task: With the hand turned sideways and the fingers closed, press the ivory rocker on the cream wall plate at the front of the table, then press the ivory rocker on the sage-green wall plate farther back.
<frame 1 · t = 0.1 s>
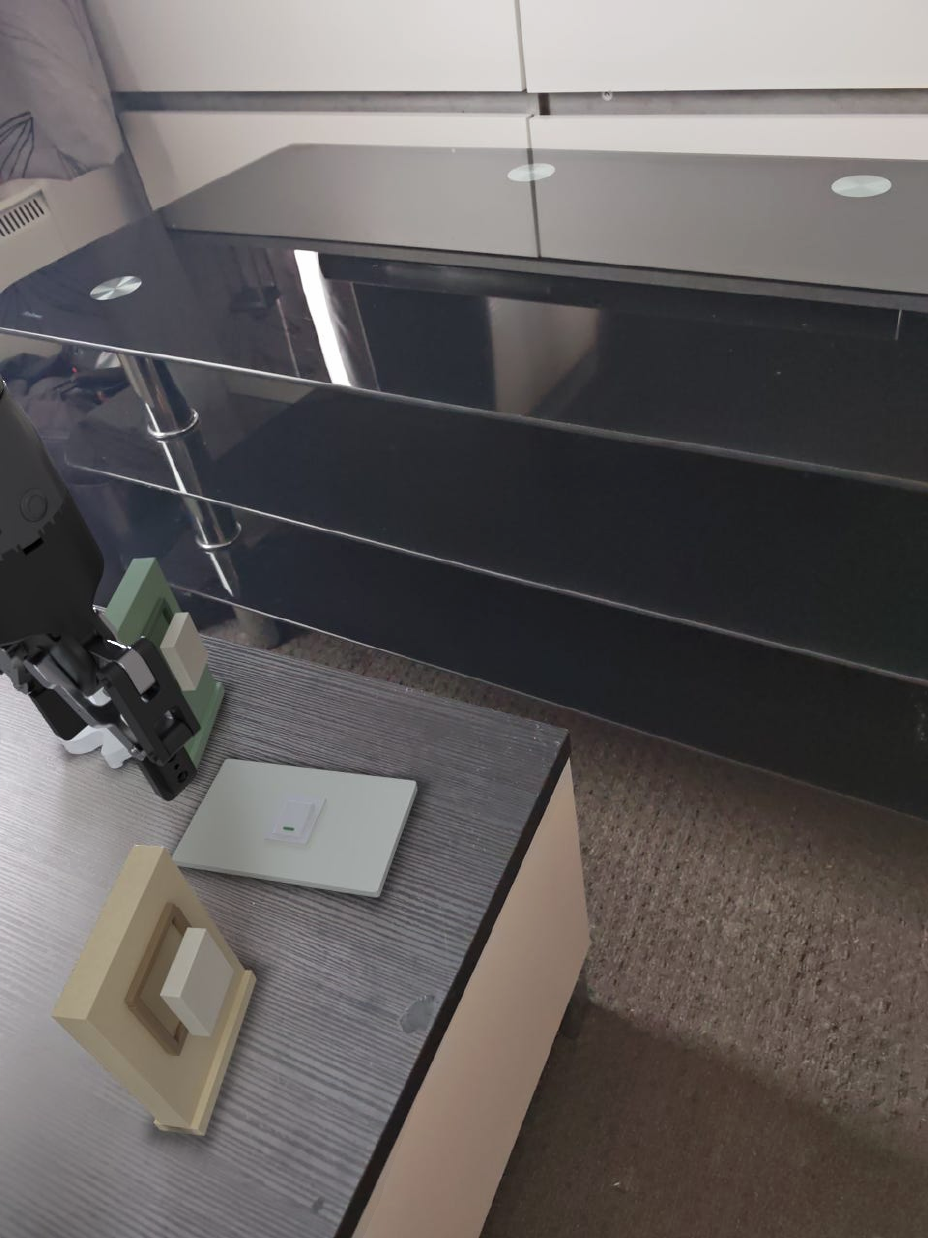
hand: (126, 756, 49), 23 cm above the table, tool pointing down, fingers open, 8 cm apart
near switch: (198, 982, 52), point 10 cm above the table, slide at -0.1 cm
near plate: (225, 1052, 59), on the table
far plate: (205, 733, 81), on the table
joystick: (109, 732, 83), on the table
far switch: (185, 651, 74), point 10 cm above the table, slide at -0.1 cm
light switch: (298, 826, 72), on the table
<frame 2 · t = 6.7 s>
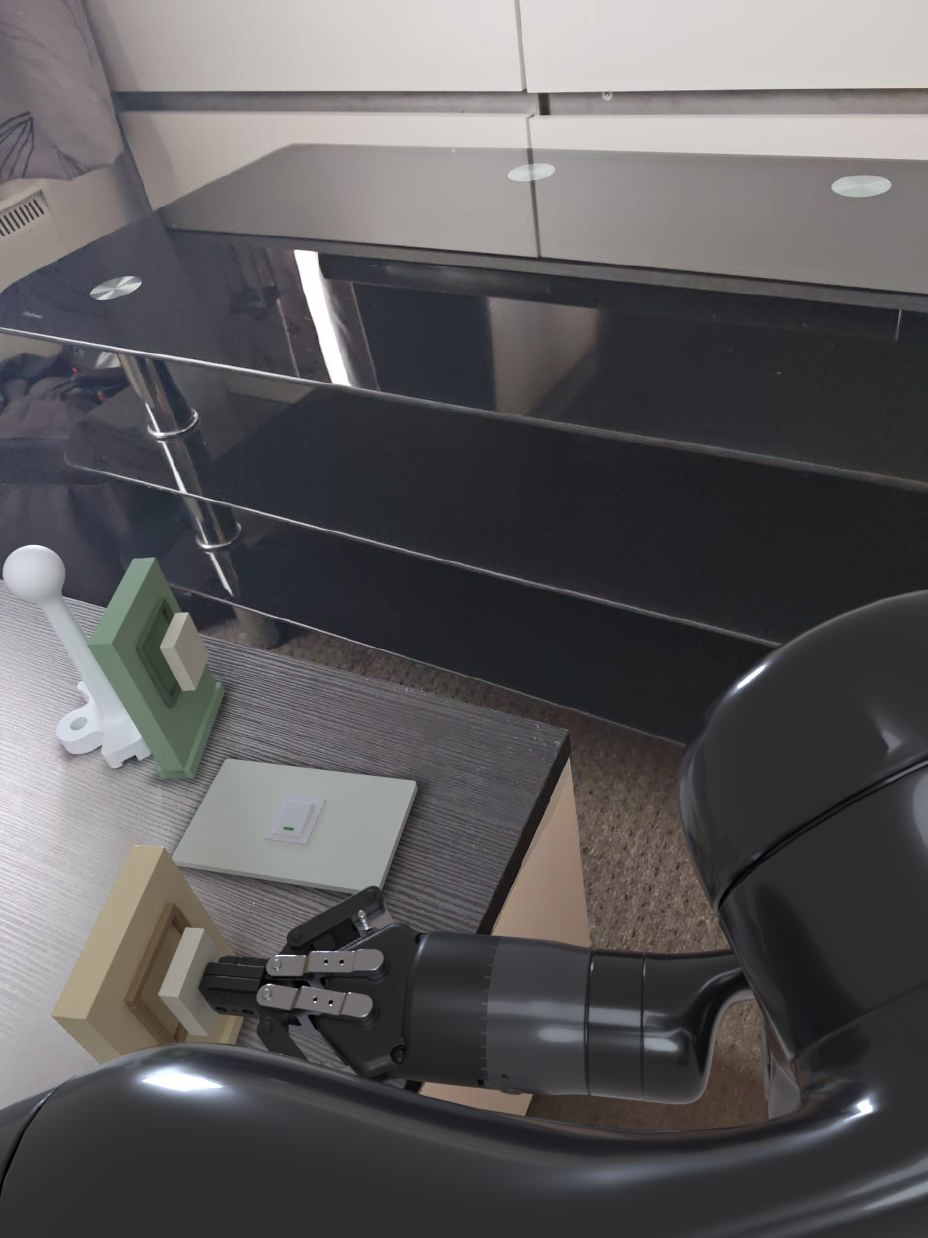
hand: (206, 983, 52), 10 cm above the table, tool horizontal, fingers closed
near switch: (197, 982, 52), point 10 cm above the table, slide at 0.0 cm, touching gripper
everything else where it was.
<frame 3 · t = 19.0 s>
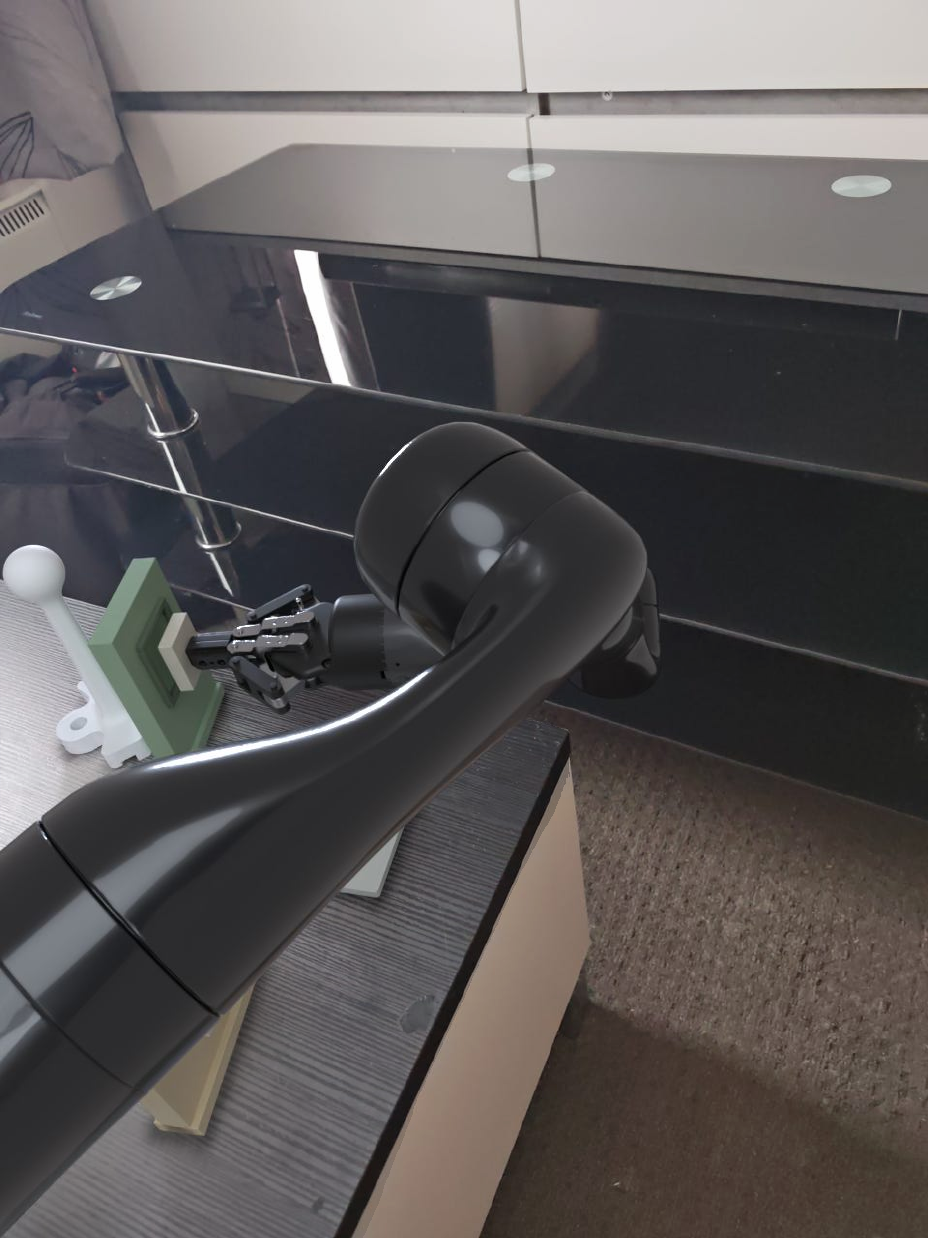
hand: (190, 652, 74), 10 cm above the table, tool horizontal, fingers closed
near switch: (198, 982, 52), point 10 cm above the table, slide at -0.1 cm
far switch: (183, 651, 74), point 10 cm above the table, slide at 0.1 cm, touching gripper
everything else where it was.
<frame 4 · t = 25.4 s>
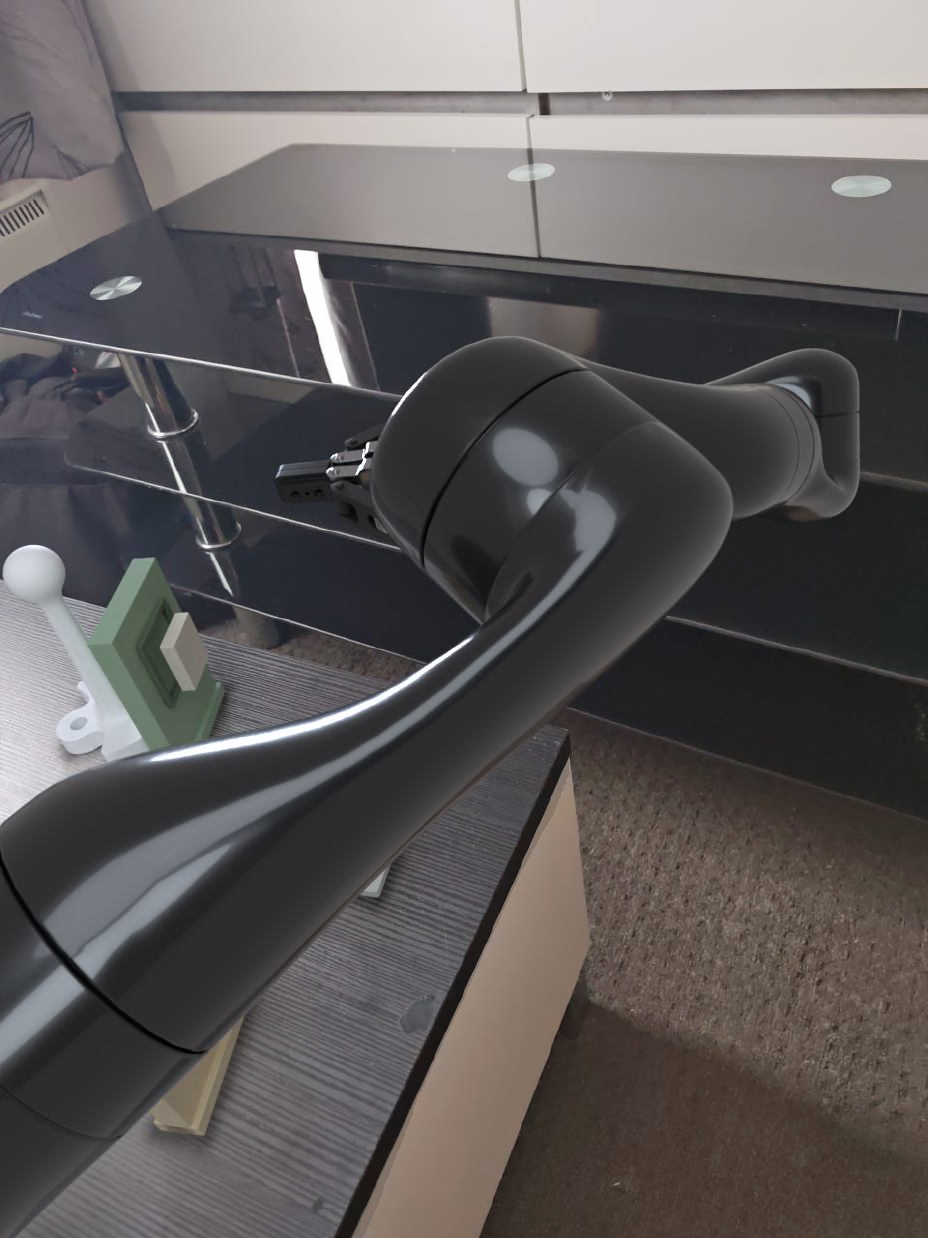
hand: (279, 484, 62), 25 cm above the table, tool horizontal, fingers closed
far switch: (185, 651, 74), point 10 cm above the table, slide at -0.1 cm
everything else where it was.
at the end: near switch pulled out 1.0 cm at the most during the clip, back to where it started at the end; far switch pulled out 0.9 cm at the most during the clip, back to where it started at the end; far switch slide at -0.1 cm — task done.
